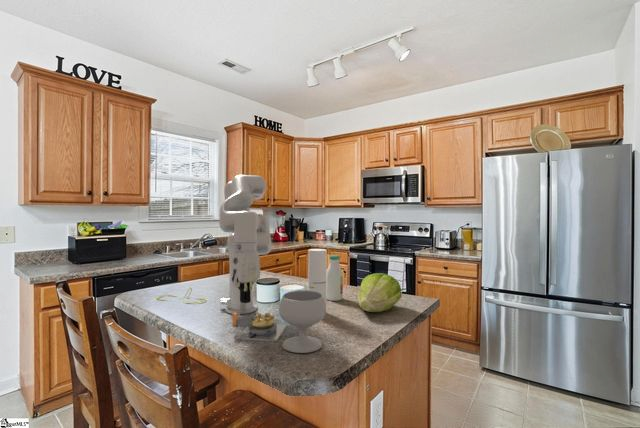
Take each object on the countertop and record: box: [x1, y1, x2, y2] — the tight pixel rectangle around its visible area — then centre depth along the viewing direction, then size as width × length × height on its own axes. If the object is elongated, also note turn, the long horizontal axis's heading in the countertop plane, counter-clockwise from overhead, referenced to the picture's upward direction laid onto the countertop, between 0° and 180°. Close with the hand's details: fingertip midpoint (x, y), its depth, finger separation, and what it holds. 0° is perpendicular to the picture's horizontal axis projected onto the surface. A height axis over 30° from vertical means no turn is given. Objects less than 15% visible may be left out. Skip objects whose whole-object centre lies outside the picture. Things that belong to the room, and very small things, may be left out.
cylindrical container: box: [307, 248, 328, 305], centre depth 127 cm, size 7×7×25 cm
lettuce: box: [357, 272, 402, 313], centre depth 130 cm, size 17×24×14 cm
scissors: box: [156, 287, 207, 304], centre depth 146 cm, size 25×10×5 cm, turn 71°
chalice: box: [278, 290, 327, 354], centre depth 96 cm, size 14×14×15 cm
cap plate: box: [235, 322, 287, 343], centre depth 106 cm, size 13×13×2 cm
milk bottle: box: [326, 254, 344, 302], centre depth 148 cm, size 8×8×20 cm
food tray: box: [231, 312, 275, 329], centre depth 105 cm, size 14×8×4 cm, turn 98°
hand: (245, 302), depth 108 cm, fingers closed
